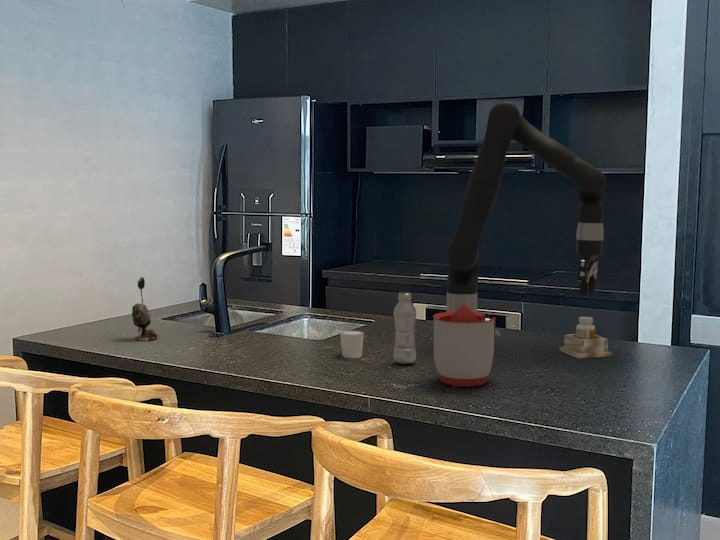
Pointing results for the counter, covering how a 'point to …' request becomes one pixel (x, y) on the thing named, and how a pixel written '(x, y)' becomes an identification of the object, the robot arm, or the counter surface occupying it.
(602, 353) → the open square wooden box
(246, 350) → the counter surface
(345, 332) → the shot glass
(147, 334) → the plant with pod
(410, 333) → the plastic bottle
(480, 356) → the citrus juicer
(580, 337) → the supplement bottle
